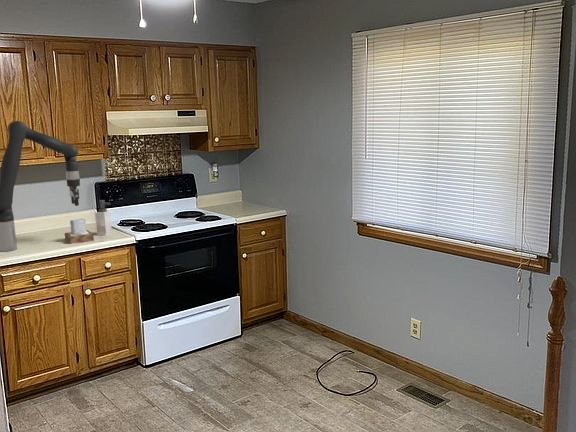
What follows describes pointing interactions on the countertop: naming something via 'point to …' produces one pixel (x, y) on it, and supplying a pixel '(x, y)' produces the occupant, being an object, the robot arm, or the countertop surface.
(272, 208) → the countertop surface
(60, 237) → the countertop surface
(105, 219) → the soap dispenser
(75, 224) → the medicine box
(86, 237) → the walnut plinth
